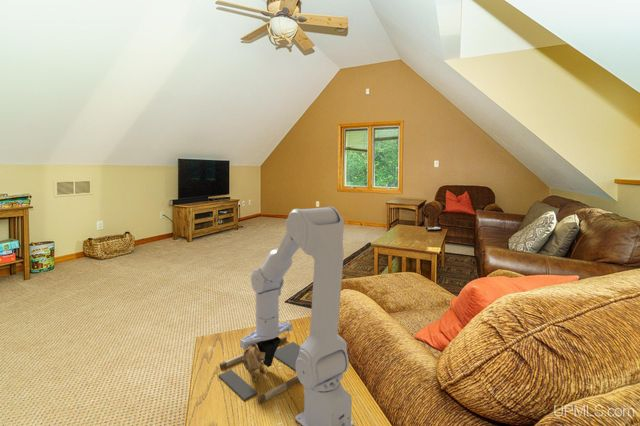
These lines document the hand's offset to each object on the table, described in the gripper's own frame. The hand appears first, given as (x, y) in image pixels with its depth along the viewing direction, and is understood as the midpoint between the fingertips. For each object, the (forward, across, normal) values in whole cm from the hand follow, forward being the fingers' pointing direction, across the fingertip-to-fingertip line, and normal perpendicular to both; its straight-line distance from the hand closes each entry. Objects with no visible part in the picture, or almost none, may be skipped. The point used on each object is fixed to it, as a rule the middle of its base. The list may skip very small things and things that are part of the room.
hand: (267, 364), depth 86 cm
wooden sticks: (+1, -2, 0) cm, 2 cm away
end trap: (+1, +9, 0) cm, 9 cm away
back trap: (+1, -9, 0) cm, 9 cm away
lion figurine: (+1, +2, -1) cm, 2 cm away
